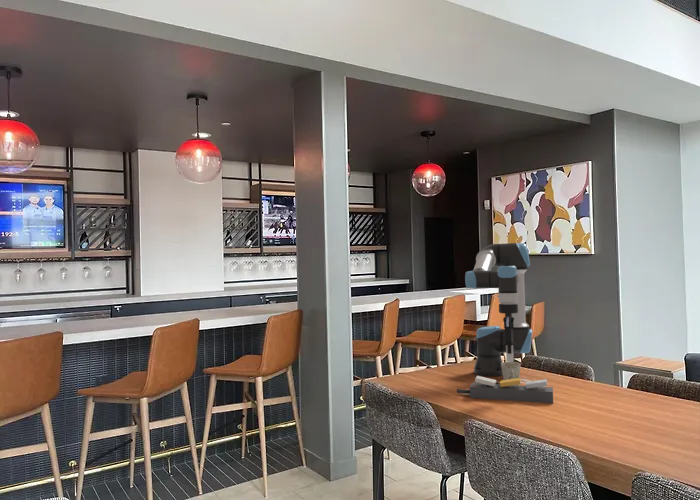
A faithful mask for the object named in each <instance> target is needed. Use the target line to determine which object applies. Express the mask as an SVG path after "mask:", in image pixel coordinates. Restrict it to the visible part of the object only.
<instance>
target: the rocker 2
mask: <svg viewBox="0 0 700 500" xmlns="http://www.w3.org/2000/svg"><path fill="white" fill-rule="evenodd" d="M499 384H500V387H505V386H512V385H521V384H522V378H521V377H519V378H515V379H508V380H503V379H502V380H500V381H499Z"/></svg>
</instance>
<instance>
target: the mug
mask: <svg viewBox="0 0 700 500" xmlns="http://www.w3.org/2000/svg"><path fill="white" fill-rule="evenodd" d="M501 367H502V373H503V375H502V378H503V379H502V380H508V379H515V378H520V373H521V372H520V371H521V362H516V361H513V362H508V361H504V362H503V361H502V363H501Z"/></svg>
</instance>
